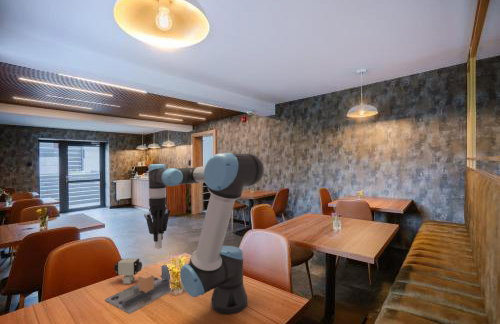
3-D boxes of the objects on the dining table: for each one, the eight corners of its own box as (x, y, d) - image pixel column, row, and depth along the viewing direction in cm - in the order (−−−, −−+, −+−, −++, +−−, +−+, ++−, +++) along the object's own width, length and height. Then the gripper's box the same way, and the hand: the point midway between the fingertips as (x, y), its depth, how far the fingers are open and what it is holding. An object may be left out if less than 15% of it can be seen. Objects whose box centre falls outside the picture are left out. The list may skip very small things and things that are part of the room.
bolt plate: (177, 287, 116) (177, 285, 116) (129, 314, 96) (129, 312, 96) (153, 278, 126) (153, 276, 126) (105, 300, 106) (105, 298, 106)
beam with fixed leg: (172, 284, 118) (171, 266, 118) (126, 308, 99) (126, 287, 99) (163, 280, 121) (163, 264, 121) (118, 303, 102) (117, 283, 102)
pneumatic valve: (138, 284, 119) (137, 260, 119) (114, 284, 119) (113, 260, 119) (143, 279, 125) (142, 255, 125) (120, 279, 125) (120, 255, 125)
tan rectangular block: (153, 292, 109) (153, 275, 109) (145, 297, 106) (145, 278, 106) (145, 289, 113) (144, 271, 113) (137, 293, 109) (136, 275, 109)
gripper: (164, 194, 122) (164, 242, 122) (139, 198, 111) (140, 250, 111) (174, 195, 118) (175, 245, 118) (150, 199, 107) (150, 254, 107)
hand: (158, 247), depth 114 cm, fingers closed
